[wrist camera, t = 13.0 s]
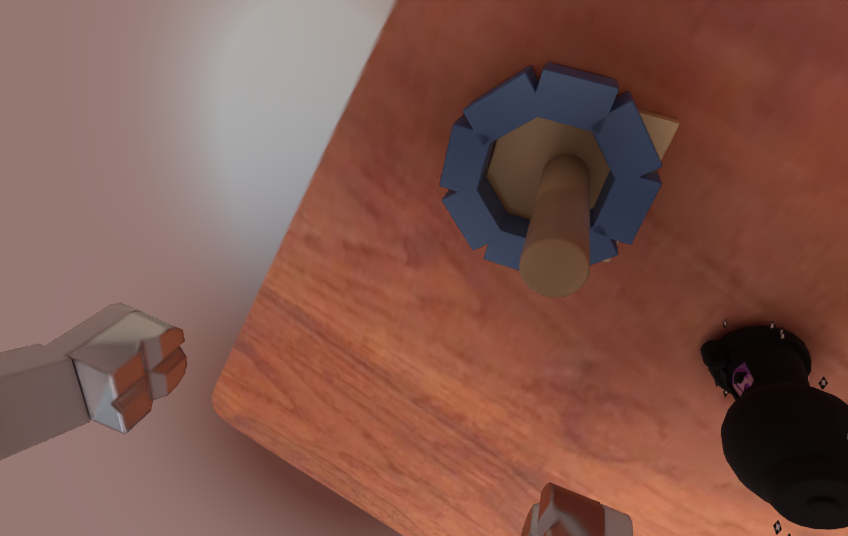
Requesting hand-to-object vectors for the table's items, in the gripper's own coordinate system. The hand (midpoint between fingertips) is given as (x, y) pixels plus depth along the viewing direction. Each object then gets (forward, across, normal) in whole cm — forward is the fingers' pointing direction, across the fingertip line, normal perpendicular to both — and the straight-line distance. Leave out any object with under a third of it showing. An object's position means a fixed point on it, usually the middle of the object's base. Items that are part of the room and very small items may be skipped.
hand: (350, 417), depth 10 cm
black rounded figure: (+20, -17, +7) cm, 28 cm away
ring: (+19, -2, 0) cm, 19 cm away
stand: (+20, -3, 0) cm, 20 cm away
